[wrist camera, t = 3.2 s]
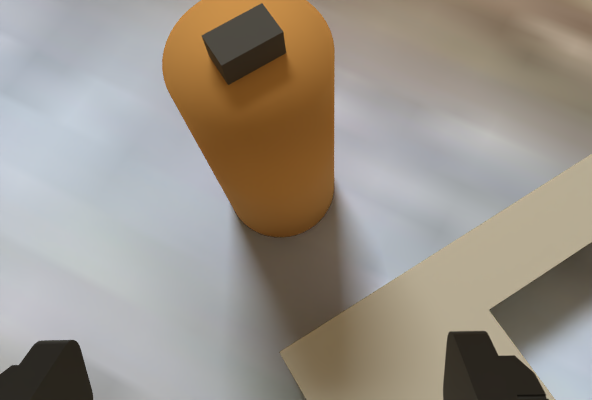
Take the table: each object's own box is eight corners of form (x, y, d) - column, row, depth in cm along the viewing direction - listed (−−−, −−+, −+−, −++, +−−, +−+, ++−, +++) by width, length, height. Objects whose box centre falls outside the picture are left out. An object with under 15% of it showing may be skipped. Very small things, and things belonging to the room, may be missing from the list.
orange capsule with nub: (262, 257, 25) (204, 149, 14) (211, 172, 27) (122, 13, 15) (354, 202, 26) (371, 54, 14) (299, 122, 27) (274, -66, 16)
